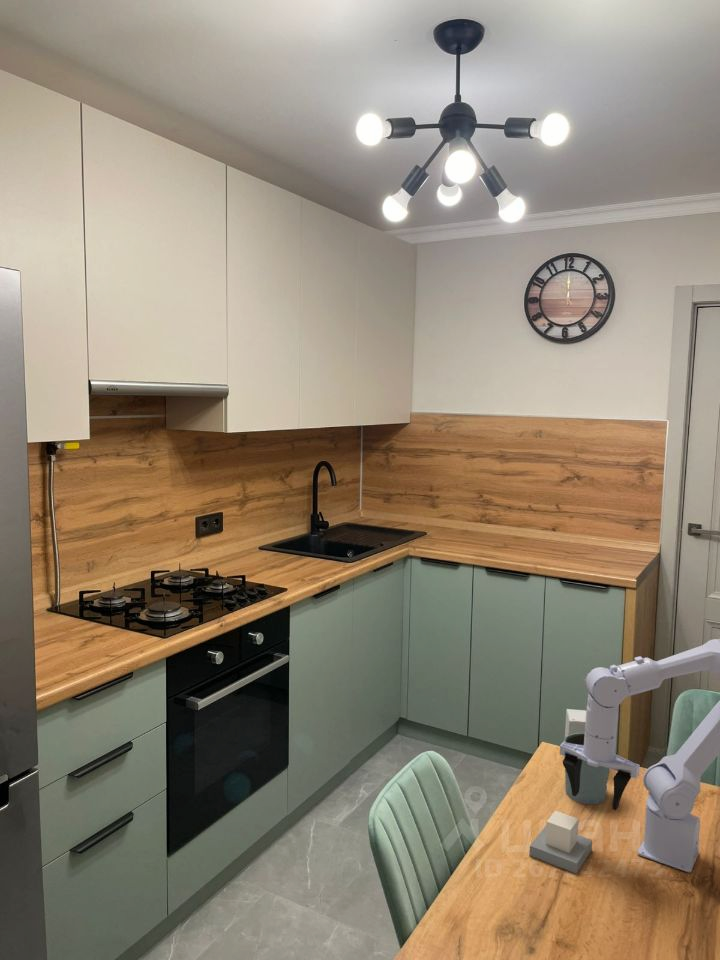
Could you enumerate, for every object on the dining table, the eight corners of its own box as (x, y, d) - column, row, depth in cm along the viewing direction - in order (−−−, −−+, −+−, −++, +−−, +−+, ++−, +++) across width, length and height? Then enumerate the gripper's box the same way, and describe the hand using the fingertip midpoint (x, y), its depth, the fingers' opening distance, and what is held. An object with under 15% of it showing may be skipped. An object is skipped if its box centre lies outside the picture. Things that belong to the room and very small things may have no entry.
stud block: (591, 849, 140) (592, 830, 139) (576, 873, 132) (577, 853, 132) (546, 833, 145) (547, 814, 144) (529, 855, 137) (530, 835, 137)
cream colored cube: (577, 841, 139) (578, 818, 139) (569, 852, 135) (570, 829, 135) (554, 832, 142) (555, 810, 141) (545, 843, 138) (546, 821, 137)
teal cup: (607, 786, 164) (610, 735, 162) (612, 810, 154) (615, 756, 153) (560, 780, 166) (563, 729, 165) (562, 803, 156) (565, 750, 155)
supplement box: (598, 776, 168) (601, 723, 167) (565, 772, 170) (568, 720, 168) (594, 761, 175) (597, 710, 174) (563, 757, 177) (565, 707, 176)
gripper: (556, 728, 138) (551, 796, 140) (634, 751, 130) (628, 823, 131) (568, 716, 144) (563, 781, 145) (644, 738, 136) (638, 806, 137)
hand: (595, 800), depth 139 cm, fingers open, 7 cm apart
